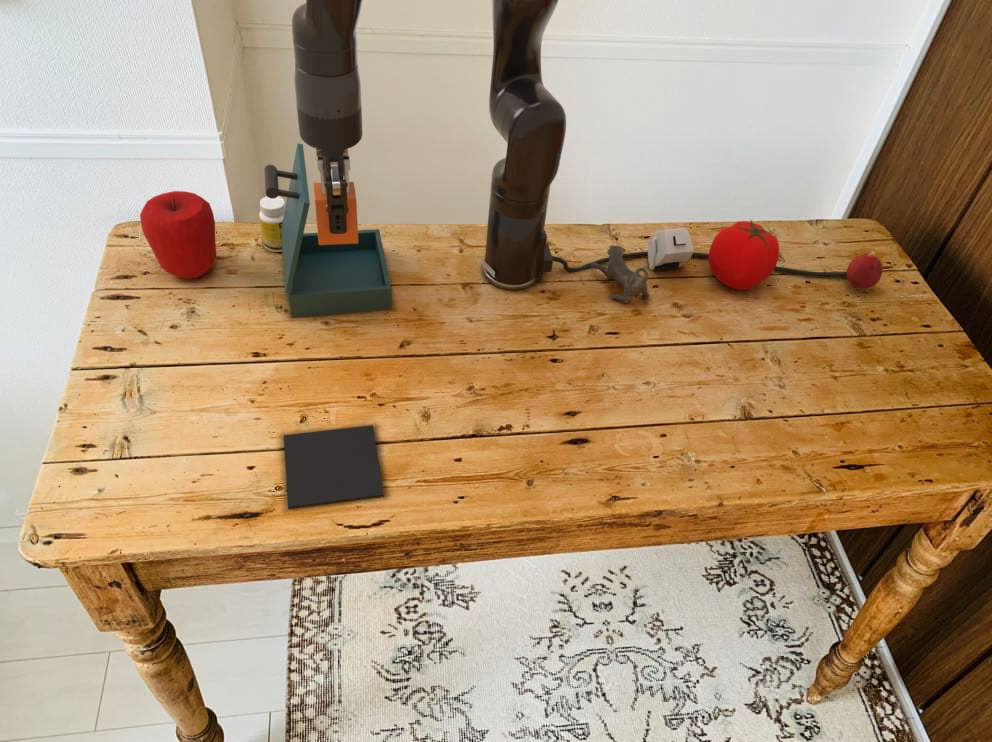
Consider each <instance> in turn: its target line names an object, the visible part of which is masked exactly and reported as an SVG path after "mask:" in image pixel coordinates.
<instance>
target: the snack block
mask: <svg viewBox="0 0 992 742" xmlns="http://www.w3.org/2000/svg"><path fill="white" fill-rule="evenodd" d="M312 186H313V196H314V198H313V199H314V207H315V217H316V220H315V221H316V229H317V233H318V241H319V245H331V244H354V243H358V230H359V225H358V205H357V194H356V187H355V182H354V181H349V192H348V193H347V204H348V210H349V211H348V214H346V223H347V232H346V233H344V234H332V233H330V229H329V216H328V212H327V211H326V204H327V200H326V194H324V193H323V192H322V188H321V182H313V183H312Z"/></svg>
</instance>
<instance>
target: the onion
mask: <svg viewBox="0 0 992 742" xmlns="http://www.w3.org/2000/svg"><path fill="white" fill-rule="evenodd" d="M883 269H884V268H883V264H882V261H881V260H880V259H879V258H878V256H877V254H876V252H875V251H874V250H870V251H869V253H863V254H859V255H857V256H856V257H854V258H853V259H852V260H851V261H850V262H849V263H848V265H847V268H846V273H847V277H846V278H847V280H848V281H849V283H850V285H851V286H852V288H853V289H856V290H866V289H870V288H872V287H874V286H876V285H877V284H878V283H879V281H880V280H881V278H882V276H883V275H882V274H883Z"/></svg>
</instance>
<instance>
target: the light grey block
mask: <svg viewBox="0 0 992 742" xmlns="http://www.w3.org/2000/svg"><path fill="white" fill-rule="evenodd" d="M651 235H652V236H651V238H649V239H648V241H647V252H648V256H647V261H648V268H649V270H653V271H658V270H667V269H678V268H680V267H682V266H683V264H686V263H688V262H689V260H690V259H691V258H692V257H691V256H692V254H693V252H694V253H695V251H694V247H693V243H692V238H691V236H690V232H689V229H688V228H687V227H678V228H670V229H668V228H667V229H658V230H654V232H653V233H652V234H651Z"/></svg>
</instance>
